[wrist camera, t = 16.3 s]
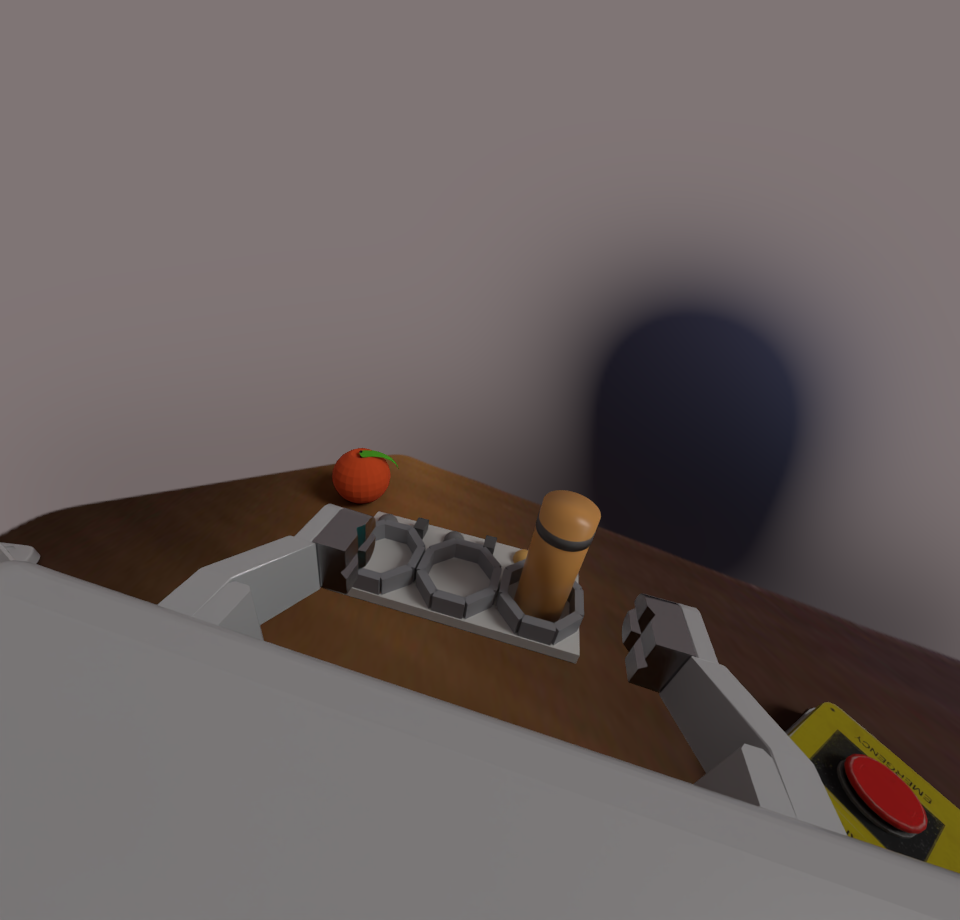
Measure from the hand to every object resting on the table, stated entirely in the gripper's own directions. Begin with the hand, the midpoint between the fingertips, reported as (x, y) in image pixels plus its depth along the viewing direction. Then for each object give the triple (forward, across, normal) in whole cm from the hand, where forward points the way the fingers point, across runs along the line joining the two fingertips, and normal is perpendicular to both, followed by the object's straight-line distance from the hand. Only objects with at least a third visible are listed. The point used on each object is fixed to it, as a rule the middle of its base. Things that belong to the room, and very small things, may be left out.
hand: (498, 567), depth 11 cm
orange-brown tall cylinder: (+16, -5, +21) cm, 27 cm away
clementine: (+26, +18, +23) cm, 39 cm away
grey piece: (+18, +3, +22) cm, 28 cm away
